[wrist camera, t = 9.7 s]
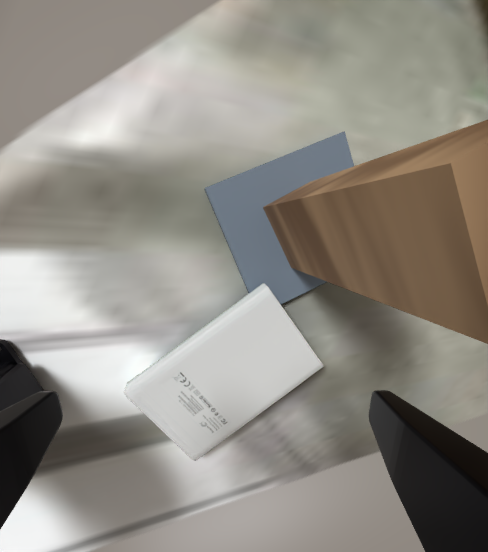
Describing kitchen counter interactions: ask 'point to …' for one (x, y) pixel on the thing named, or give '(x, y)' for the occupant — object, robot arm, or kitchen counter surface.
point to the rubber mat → (253, 220)
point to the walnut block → (401, 230)
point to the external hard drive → (224, 374)
